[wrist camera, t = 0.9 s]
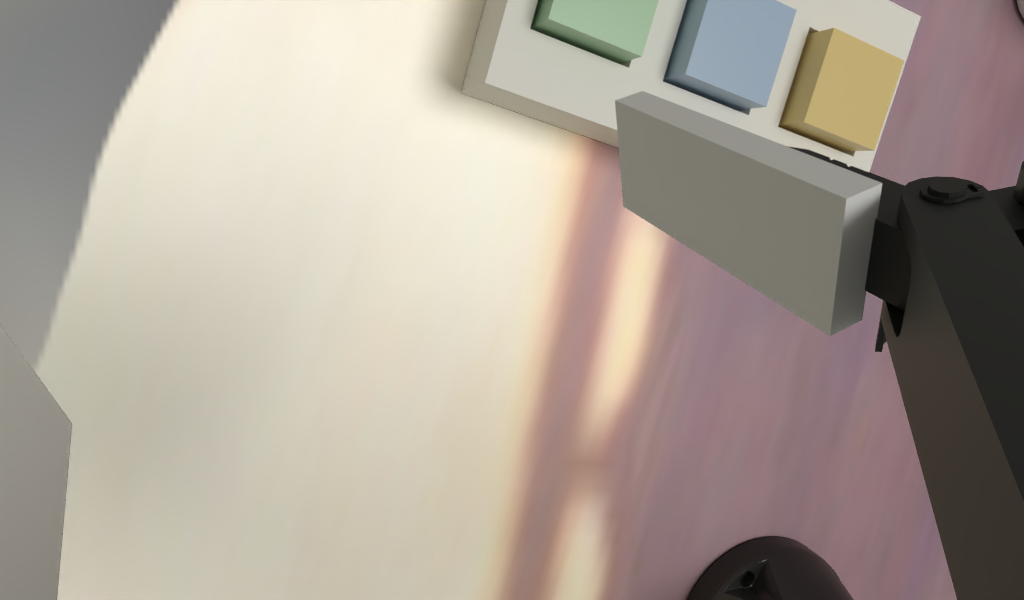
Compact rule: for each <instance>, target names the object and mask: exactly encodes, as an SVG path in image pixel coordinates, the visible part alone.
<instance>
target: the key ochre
mask: <svg viewBox="0 0 1024 600" xmlns="http://www.w3.org/2000/svg"><path fill="white" fill-rule="evenodd" d="M903 63H904V60H902V59H900V58H898V57H896V56H893V55H891V54H889V53H887V52H885V51H883V50H881V49H879V48H876V47H874V46H872V45H870V44H868V43H866V42H864V41H862V40H859V39H857V38H855V37H853V36H851V35H849V34H847V33H845V32H842V31H840V30H838V29H836V28H831V29H827V30H823V31H819V32H815V33H811V34H807V37H806V40H805V44H804V47H803V50H802V53H801V56H800V59H799V63H798V66H797V69H796V72H795V75H794V78H793V81H792V85H791V88H790V91H789V94H788V97H787V100H786V103H785V107H784V110H783V113H782V116H781V119H780V122H779V125H778V127H780V128H782V129H785V130H787V131H790V132H792V133H795V134H798V135H800V136H803V137H805V138H808V139H810V140H813V141H815V142H818V143H820V144H823V145H825V146H828V147H830V148H833V149H835V150H838V151H874V150H875V147H876V144H877V141H878V138H879V135H880V132H881V129H882V126H883V123H884V120H885V117H886V114H887V111H888V108H889V105H890V102H891V99H892V96H893V93H894V90H895V87H896V84H897V81H898V78H899V75H900V72H901V69H902V66H903Z"/></svg>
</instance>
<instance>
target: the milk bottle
mask: <svg viewBox="0 0 1024 600" xmlns="http://www.w3.org/2000/svg"><path fill="white" fill-rule="evenodd" d="M1017 4H1018V8H1019V11H1020V13H1021V15H1022V17H1023V19H1024V0H1017Z"/></svg>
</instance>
